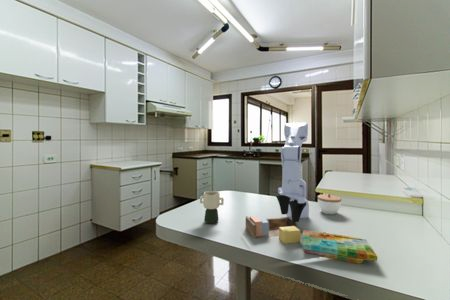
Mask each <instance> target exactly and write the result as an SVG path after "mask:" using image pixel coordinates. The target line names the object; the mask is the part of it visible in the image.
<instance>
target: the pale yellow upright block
mask: <svg viewBox="0 0 450 300" xmlns="http://www.w3.org/2000/svg"><path fill="white" fill-rule="evenodd" d="M278 239H279V240H280V241H281V242H282V243H283V244H285V245H286V244H293V243H300V242H301V233H300V230H299V229H298V228H296V227H295V226H287V227H279V236H278Z"/></svg>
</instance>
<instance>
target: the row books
mask: <svg viewBox="0 0 450 300" xmlns="http://www.w3.org/2000/svg"><path fill="white" fill-rule="evenodd" d="M249 218H250V219H251V220H252V221H253V222H254V223H255V224H256V237H258V236H268V235H269V222H268V221H267V220H266V219H267V218H265V217H264V216H258V215H252V216H249Z"/></svg>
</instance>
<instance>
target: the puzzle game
mask: <svg viewBox="0 0 450 300" xmlns="http://www.w3.org/2000/svg"><path fill="white" fill-rule="evenodd" d="M302 230H303V233H301V234H302V250H303V251H304V252H305V253H306V254H311V255H317V256H321V258H325V259H331V260H332V259H333V260H336V261H337V260H338V261H344V262H350V263H356V264H361V263H363V262H364V260H365V261H371V262H376V261H378V255H377V253H376V252H375V251H374V249H373V248H372V246H371V245H370V243H369V241H368V240H367V239H366V238H363V237H362V238H361V237H355V236H351V235H350V236H348V235H342V234H337V233H336V234H334V233H329V232H325V231H323V232H322V231H315V230H308V229H302Z"/></svg>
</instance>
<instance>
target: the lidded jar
mask: <svg viewBox="0 0 450 300" xmlns="http://www.w3.org/2000/svg"><path fill="white" fill-rule="evenodd" d="M341 204H342V198H341V197H340V196H336V195H332V194H331V193H327V194H318V195H317V205H318V207H319V209H320V211H321V212H322V213H323V214H324V215H335V214H336V213H337V212H339V211H340V208H341Z"/></svg>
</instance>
